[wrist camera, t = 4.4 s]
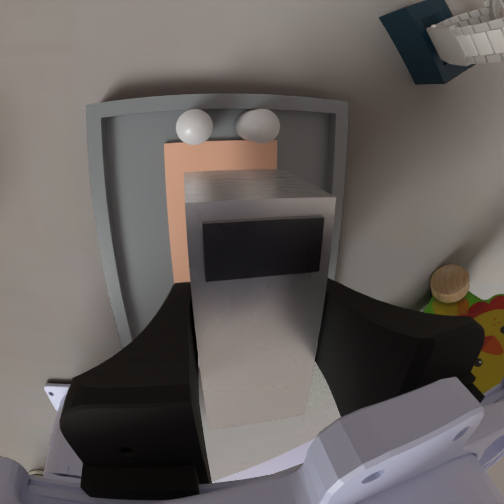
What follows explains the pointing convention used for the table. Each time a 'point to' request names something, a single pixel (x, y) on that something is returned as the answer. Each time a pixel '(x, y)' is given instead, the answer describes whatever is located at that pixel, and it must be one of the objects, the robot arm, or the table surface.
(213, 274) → the drive
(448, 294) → the toy lion
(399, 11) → the watch
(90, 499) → the robot arm
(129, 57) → the table surface
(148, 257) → the tray
